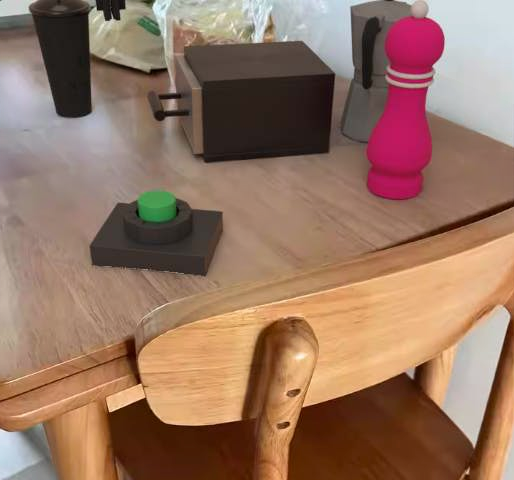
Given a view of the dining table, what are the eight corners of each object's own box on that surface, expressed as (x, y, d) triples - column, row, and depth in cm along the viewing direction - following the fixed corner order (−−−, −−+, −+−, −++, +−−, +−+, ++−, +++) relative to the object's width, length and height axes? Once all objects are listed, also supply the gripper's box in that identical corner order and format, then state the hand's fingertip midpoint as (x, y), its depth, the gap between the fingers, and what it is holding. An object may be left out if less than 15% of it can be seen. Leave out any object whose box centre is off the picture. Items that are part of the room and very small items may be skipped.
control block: (92, 265, 70) (86, 228, 67) (119, 221, 77) (116, 186, 74) (205, 276, 68) (204, 239, 66) (222, 230, 75) (222, 195, 73)
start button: (134, 222, 69) (132, 205, 68) (144, 204, 72) (143, 188, 71) (171, 225, 69) (170, 208, 68) (180, 208, 72) (179, 191, 70)
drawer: (159, 157, 87) (154, 90, 83) (146, 118, 97) (142, 57, 92) (309, 145, 91) (313, 81, 86) (283, 109, 101) (285, 50, 96)
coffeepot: (353, 109, 104) (367, -31, 93) (418, 119, 101) (441, -24, 90) (318, 148, 93) (330, -6, 82) (391, 161, 90) (413, 4, 79)
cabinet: (204, 162, 89) (202, 81, 83) (186, 121, 99) (183, 46, 93) (328, 153, 92) (335, 73, 86) (298, 113, 102) (302, 40, 96)
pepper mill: (435, 184, 85) (469, -2, 73) (409, 208, 80) (440, 13, 68) (379, 169, 88) (403, -12, 76) (351, 190, 83) (371, 1, 71)
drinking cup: (35, 117, 99) (6, -48, 87) (63, 99, 105) (40, -59, 93) (85, 124, 98) (64, -43, 85) (111, 105, 103) (94, -54, 91)
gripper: (166, -200, 70) (176, 6, 81) (4, -202, 67) (39, 12, 79) (178, -198, 64) (187, 23, 76) (2, -199, 62) (39, 30, 73)
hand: (111, 17), depth 77 cm, fingers closed
